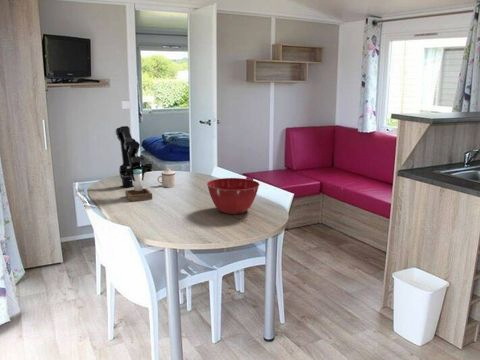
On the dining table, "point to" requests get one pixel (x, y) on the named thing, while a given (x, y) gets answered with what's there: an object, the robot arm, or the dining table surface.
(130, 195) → the brown wooden tray
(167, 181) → the teacup with lid
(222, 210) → the mixing bowl
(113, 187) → the dining table surface
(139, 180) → the canister
